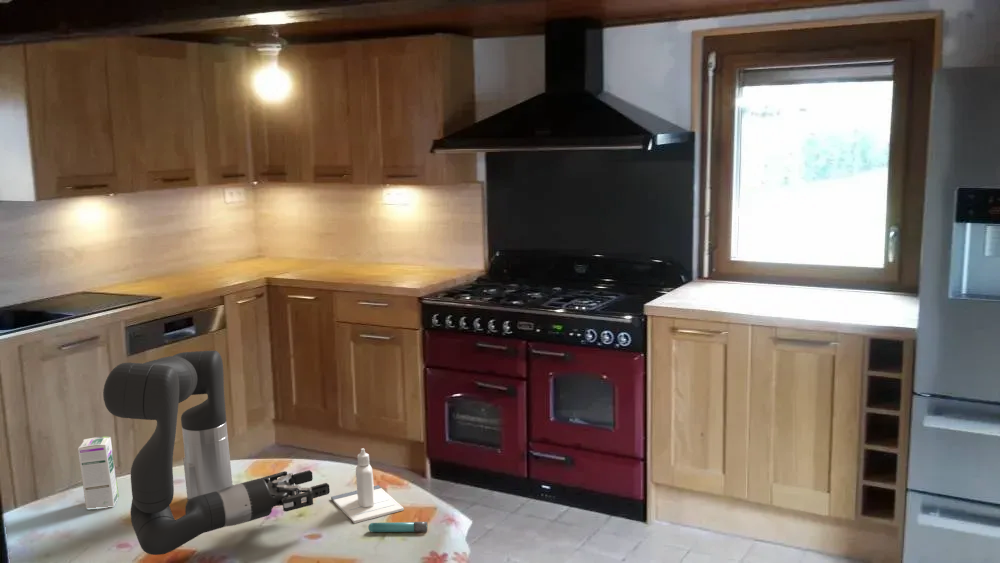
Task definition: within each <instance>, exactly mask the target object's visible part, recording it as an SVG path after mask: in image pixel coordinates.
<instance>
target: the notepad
mask: <svg viewBox="0 0 1000 563" xmlns="http://www.w3.org/2000/svg"><path fill="white" fill-rule="evenodd" d="M374 498H375V503H374V505H373V506H370V507H362V506H360V505H359V503H358V495H357V490H353V491H349V492H345V493H341V494H337V495H332V496H330V500H331V501H332V502H333V503H334V504H335V505H336V506H337V507H338V508H339V510H341V511H342V512H343V513H344V515H345V516H347V517H348V519H349V520H350V521H351V522H352V523H353V524H357V523H360V522H364V521H369V520H371V519H376V518H379V517H384V516H387V515H392V514H395V513H399V512H401V511H404V510H405V508H404V507H403V505H401V504H400V503H399V502H397V501H396V499H394V498H393V497H392V496H391V495H390V494H389V493H387V491H385V490H384V489H383V488H382V487H381V486H380V485H378V484H377V485H374Z"/></svg>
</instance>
